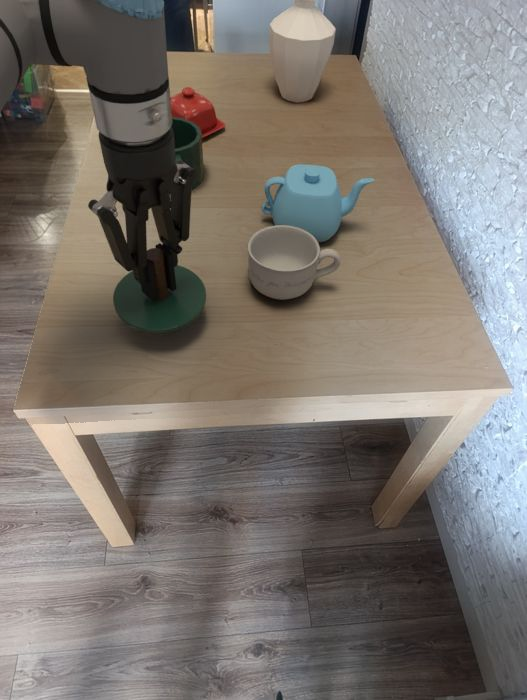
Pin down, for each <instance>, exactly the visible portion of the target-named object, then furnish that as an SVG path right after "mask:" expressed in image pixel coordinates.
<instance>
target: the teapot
mask: <svg viewBox="0 0 527 700" xmlns="http://www.w3.org/2000/svg"><path fill="white" fill-rule="evenodd" d="M374 181H375V178H373V177H365V178H361V179H359V180H357V181H356V182H355V183H354V184H353V186H352V189H351V191H350V193H348V195H346V196H344V197H342V193H341V190H340V187H339V183H338V180H337V177H336V174H335V172H334V171H333V170H332V169H331V168H330V167H328V166H322V165H316V164H295V165H292V166H291V167H290V168H289V169H288V170H287V172H286V173H285V175H284V176H273V177H271V178H269V179H268V180H266V182H265V184H264V195H265V197H266V200H267V201H264V202H263V203H262V205H261V210H262V213H264V214H265V215H272V221H273V224H274V226H277V225H287V226H293V227H297V228H300V229H302V230H305V231H307V232H308V233H310V234H311V235H313V236H314V237H315V239H316V240H317V242H318V243H323V242H326V241H328V240H330V239H331V238H332V237H333V236H334V235H335V234H336V233H337V231H338V229H339V228H340V226H341V222H342V218H344V217H346V216H348V215H350V213H351V212H353V210H354V209H355V207H356V205H357V202H358V199H359V197H360V194H361V192H362V190H363V189H364V188H365V187H366V186H367V185H369V184H371V183H373V182H374ZM273 185H278V187H277V189H276V192H275V195H274V198H273V196H272V193H271V191H270V190H271V189H270V188H271V186H273Z"/></svg>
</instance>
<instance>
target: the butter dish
mask: <svg viewBox="0 0 527 700" xmlns="http://www.w3.org/2000/svg"><path fill="white" fill-rule="evenodd" d="M170 100H171V112H172V117H177V118H183V119H186V120H189V121H191V122H193V123H195V124H196V125H197V126H198V127H199V128H200V131H201V134H202V139H203V138H205V137H207V136H210V135H212V134H214V133H216V132H218V131H220V130H222V129H224V128H225V127H226V123H225V122H224V121H222V120H221V119H219V118H218V117H217V114H216V110H215V106H214V105H213V103H212V102H211V101H210V100H209V99H208V98H206V97H205V96H204V95H202V94H200V93H199V92H196V90H195V89H194V88H193V87H190V86H186V87H183V88H182V89H181V92H179V93H176V94H174V95H172V96H170Z"/></svg>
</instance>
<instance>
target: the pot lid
mask: <svg viewBox="0 0 527 700" xmlns="http://www.w3.org/2000/svg"><path fill="white" fill-rule="evenodd" d="M147 260H149V261H150V262H151V263H152V264H153V267H154V274H155V280H156V287H157V294H158V300H157V301H155V302H153V301H152V300H151V299H150V298H149V297H148V296H146V295H145V294H144V293H143V292H142V289H141V284H140V283H139V282H138V281H137V280H135V278H134V276H133V271H129V272H128V273H127V274H126V275H124V276H123V277H122V278H121V279H120V280H119V282H118V283H117V284H116V286H115V289H114V290H113V295H112V302H113V307H114V310H115V312H116V314H117V316H118V317H119V318H120V319H121V320H122V321H123V322H124V323H125V324H126V325H128V326H129V327H131V328H133V329H136V330H138V331H142V332H146V333H155V334H156V333H160V334H161V333H167V332H173V331H176V330H179V329H182V328H184V327H187V326H188V325H190V324H191V323H192V322H194V321H195V320H196V319H197V318H199V316H200V315H201V313H202V311H203V310H204V308H205V305H206V301H207V291H206V286H205V284H204V283H203V280H202V279H201V278H200V277H199V276H198V275H197V274H196V273H195V272H194V271H192V270H190V269H189V268H187V267H185V266H181V265H179V264H177V266H175V267H174V270H175V279H176V290H174V291H171V290H170V289H169V288H168V284H167V276H166V268H165V260H164V253H163V251H162V250H161V249H158V248H156V247H152V248H149V249H147Z"/></svg>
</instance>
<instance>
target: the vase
mask: <svg viewBox="0 0 527 700" xmlns="http://www.w3.org/2000/svg"><path fill="white" fill-rule="evenodd" d="M316 3H317V0H294V4H292V5H291V6H289V7H288V8H287V9H285V10H284V11H283V12H281V13H280V14H278V15H276V16H275V17H274V18H273V19H272V20H271V22H270V23H269V29H268V30H269V31H268V45H269V53H270V54H269V55H270V59H271V64H272V69H273V74H274V79H275V83H276V84H277V87H278V90H279V93H280V96H281V98H283V99H284V100H286V101H289V102H293V103H296V104H297V103H305V102H307V101H310V100H312V99H313V97H314V95H315V94H316V92H317V89H318V87H319V84H320V82H321V80H322V77H323V74H324V72H325V70H326V67H327V65H328V62H329V60H330V57H331V54H332V50H333V48H334V43H335V36H336V30H337V28H336V27H335V26H334V25H333V23H332V22H331V21H330V20H329V18H328V17H326V16H325V14H324V13H323V12H322V11H321V10H320V9H319V8H318V7H317V6H316Z"/></svg>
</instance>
